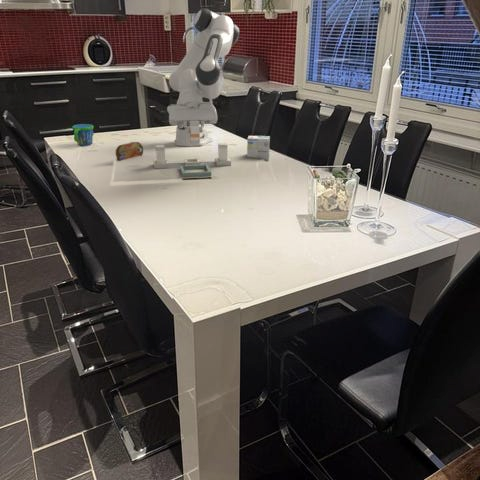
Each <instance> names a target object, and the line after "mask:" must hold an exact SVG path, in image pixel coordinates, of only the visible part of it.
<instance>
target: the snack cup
mask: <svg viewBox="0 0 480 480" xmlns="http://www.w3.org/2000/svg"><path fill="white" fill-rule="evenodd" d="M71 127H72V131H73V132H74V133H73V134H74V135H73V140H74V142H76V143H77V145H78V146H80V147H87V146H88V147H89V146H91V145H93V141H94V140H93V137H94V134H95V133H94V128H95V127H94V125H93V124H89V123H80V124H74V125H73V126H71Z"/></svg>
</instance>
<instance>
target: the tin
mask: <svg viewBox="0 0 480 480" xmlns="http://www.w3.org/2000/svg"><path fill="white" fill-rule="evenodd" d="M143 154H144V147H143V145H142V143H140V142H138V141H130V142H127V143H123V144H120V145H118V146H117V147H116V149H115V157H116V159H117V160H118V161H124V160H125V161H126V160H127V159H132V158H137V157H142V156H143Z"/></svg>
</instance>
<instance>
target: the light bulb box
mask: <svg viewBox="0 0 480 480" xmlns="http://www.w3.org/2000/svg"><path fill="white" fill-rule="evenodd" d="M270 139H271V136H270V135H268V136H267V135H248V137H247V141H246V143H247V147H246V148H247V149H246V150H247V151H246V152H247V153H246V158H260V159H262V161H269V159H270V143H271V142H270V141H271V140H270Z"/></svg>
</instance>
